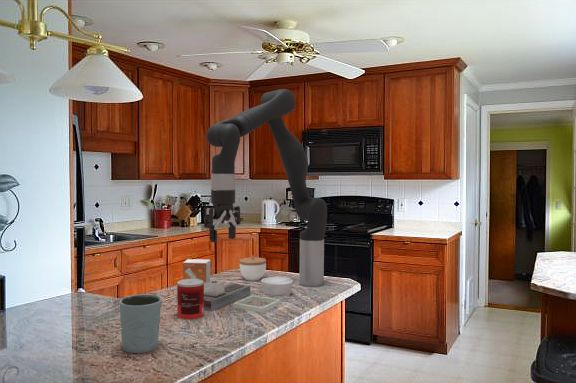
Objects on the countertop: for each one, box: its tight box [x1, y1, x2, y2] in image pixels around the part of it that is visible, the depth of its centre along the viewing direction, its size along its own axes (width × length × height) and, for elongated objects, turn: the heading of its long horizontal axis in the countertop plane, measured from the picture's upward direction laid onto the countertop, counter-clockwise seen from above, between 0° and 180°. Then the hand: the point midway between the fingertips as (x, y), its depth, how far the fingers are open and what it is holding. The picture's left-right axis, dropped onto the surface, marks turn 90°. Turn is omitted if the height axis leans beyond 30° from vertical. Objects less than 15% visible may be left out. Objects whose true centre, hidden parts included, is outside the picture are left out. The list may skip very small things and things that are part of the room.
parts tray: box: [232, 294, 282, 314], centre depth 156 cm, size 11×11×2 cm
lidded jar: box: [239, 255, 267, 282], centre depth 196 cm, size 11×11×9 cm
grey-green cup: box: [118, 293, 163, 354], centre depth 122 cm, size 10×10×12 cm
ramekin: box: [260, 276, 294, 297], centre depth 173 cm, size 11×11×5 cm
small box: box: [182, 258, 212, 283], centre depth 167 cm, size 8×6×13 cm
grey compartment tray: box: [204, 283, 251, 312], centre depth 161 cm, size 22×8×4 cm, turn 152°
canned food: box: [176, 279, 205, 320], centre depth 145 cm, size 8×8×11 cm
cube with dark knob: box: [204, 279, 225, 298], centre depth 157 cm, size 5×5×7 cm
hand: (222, 240), depth 154 cm, fingers open, 8 cm apart
